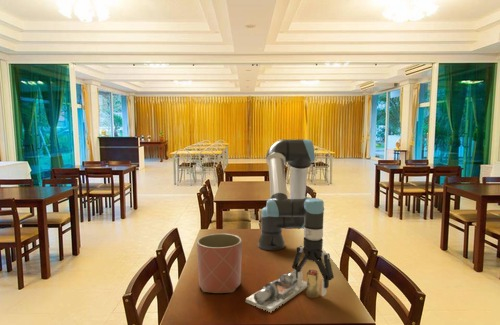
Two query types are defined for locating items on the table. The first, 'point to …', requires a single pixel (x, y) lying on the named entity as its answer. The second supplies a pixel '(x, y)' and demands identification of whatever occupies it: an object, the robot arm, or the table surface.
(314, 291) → the brass cylinder
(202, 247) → the planter
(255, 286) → the table surface
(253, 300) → the pipeline
